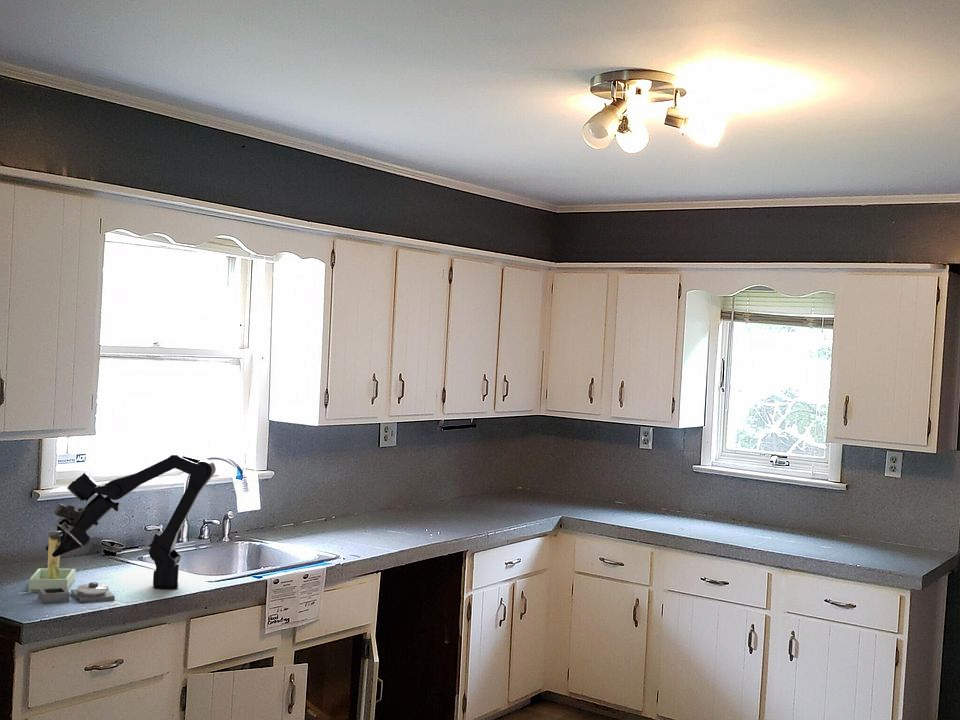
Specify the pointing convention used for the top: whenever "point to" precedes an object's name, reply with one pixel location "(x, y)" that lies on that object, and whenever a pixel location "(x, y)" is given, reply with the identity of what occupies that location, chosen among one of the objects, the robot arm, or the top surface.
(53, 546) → the lock pin
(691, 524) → the top surface
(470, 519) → the top surface
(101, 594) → the grey low boxy pieces
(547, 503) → the top surface
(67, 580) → the tray
